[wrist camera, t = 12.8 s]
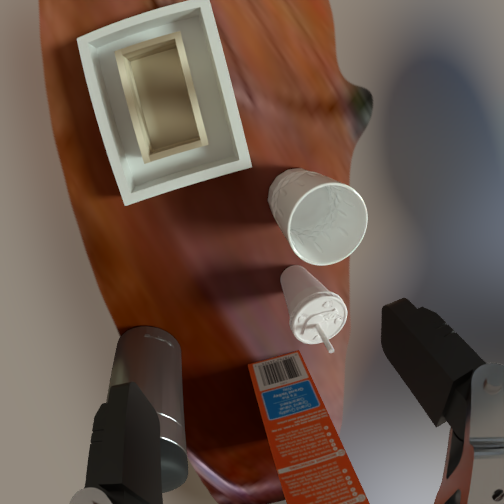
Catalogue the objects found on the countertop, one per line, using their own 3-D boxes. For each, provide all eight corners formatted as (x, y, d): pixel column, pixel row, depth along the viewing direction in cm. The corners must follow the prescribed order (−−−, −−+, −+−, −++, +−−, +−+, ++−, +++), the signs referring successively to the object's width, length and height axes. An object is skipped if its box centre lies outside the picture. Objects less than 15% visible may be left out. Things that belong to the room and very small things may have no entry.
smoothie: (260, 275, 41) (292, 349, 28) (302, 245, 40) (351, 308, 28) (286, 307, 44) (322, 380, 31) (325, 279, 43) (374, 345, 31)
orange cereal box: (247, 364, 47) (303, 554, 20) (299, 350, 48) (380, 527, 21) (268, 438, 57) (309, 569, 30) (307, 427, 58) (358, 553, 31)
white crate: (245, 160, 35) (252, 167, 31) (131, 195, 34) (125, 206, 30) (205, 8, 26) (208, -4, 23) (88, 45, 26) (76, 38, 22)
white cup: (336, 176, 37) (380, 199, 28) (311, 235, 40) (346, 273, 31) (276, 153, 35) (307, 170, 26) (252, 217, 38) (274, 254, 29)
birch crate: (205, 139, 32) (208, 144, 28) (150, 156, 32) (144, 163, 27) (181, 42, 27) (180, 30, 23) (124, 59, 27) (114, 51, 22)
